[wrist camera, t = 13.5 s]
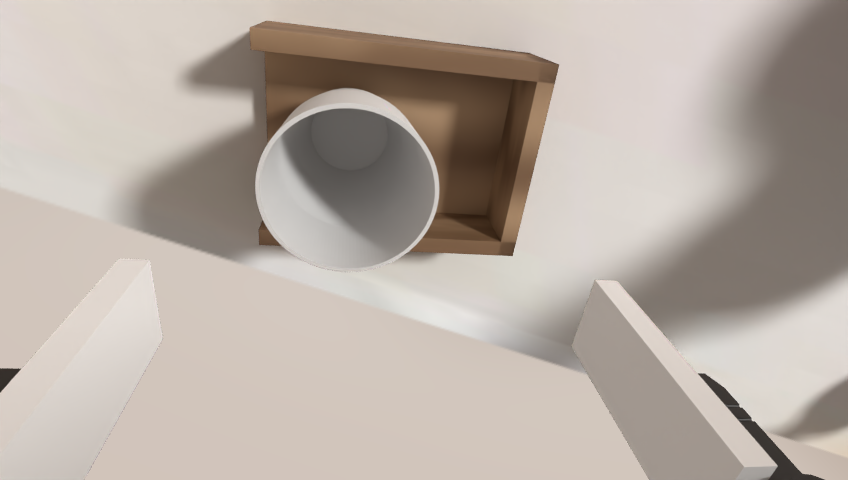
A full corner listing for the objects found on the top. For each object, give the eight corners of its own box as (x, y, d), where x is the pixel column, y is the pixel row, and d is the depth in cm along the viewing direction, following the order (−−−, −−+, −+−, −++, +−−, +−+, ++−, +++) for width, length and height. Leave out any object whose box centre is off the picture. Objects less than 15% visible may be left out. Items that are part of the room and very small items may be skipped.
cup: (259, 97, 28) (217, 148, 19) (385, 44, 27) (400, 72, 19) (320, 210, 32) (309, 295, 23) (431, 165, 31) (462, 235, 23)
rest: (266, 20, 27) (249, 27, 23) (529, 53, 30) (559, 64, 25) (272, 209, 32) (259, 244, 28) (493, 222, 35) (512, 256, 31)
